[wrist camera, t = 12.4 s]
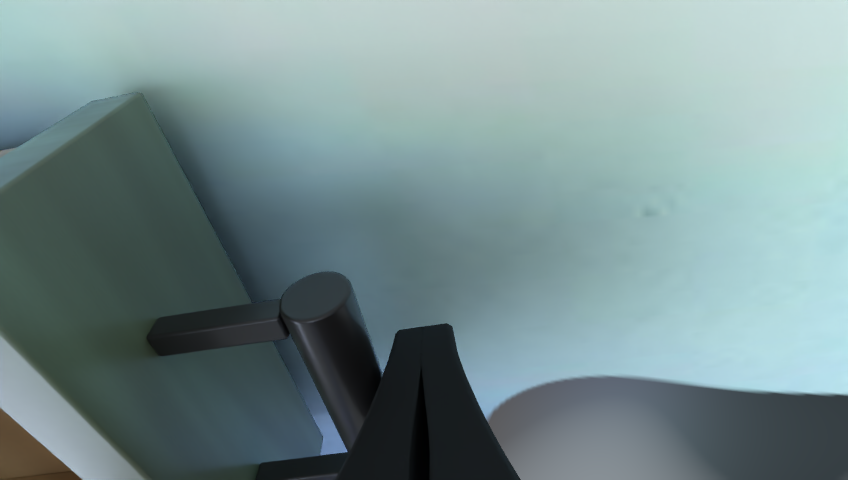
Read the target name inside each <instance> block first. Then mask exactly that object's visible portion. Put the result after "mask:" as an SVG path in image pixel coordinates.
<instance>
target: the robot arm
mask: <svg viewBox="0 0 848 480" xmlns="http://www.w3.org/2000/svg"><path fill="white" fill-rule="evenodd" d="M335 480H520V478H519V476H518V475H517V473H516V471H515V470H514V468H513V467H512V465H511V463H510V462H509V460H508V458H507V457H506V455H505V453H504V451H503V450H502V448H501V446H500V445H499V443H498V441H497V439H496V437H495V436H494V434H493V432H492V430H491V428H490V426H489V424H488V422H487V420H486V418H485V416H484V414H483V412H482V410H481V408H480V406H479V404H478V402H477V400H476V398H475V395H474V393H473V391H472V389H471V387H470V384H469V382H468V380H467V377H466V375H465V372H464V370H463V367H462V364H461V361H460V359H459V356H458V352H457V347H456V342H455V337H454V332H453V327H452V326H451V325H449V324H447V323H446V324H438V325H431V326H424V327H417V328H410V329H403V330H399V331H398V332H397V333H396V334H395V338H394V342H393V346H392V349H391V353H390V356H389V359H388V362H387V365H386V368H385V371H384V373H383V376H382V379H381V382H380V384H379V387H378V389H377V392H376V394H375V397H374V399H373V402H372V404H371V407H370V409H369V412H368V414H367V416H366V418H365V421H364V423H363V425H362V427H361V429H360V431H359V433H358V436H357V438H356V440H355V442H354V444H353V446H352V448H351V450H350V452H349V454H348V456H347V458H346V460H345V462H344V464H343V466H342V468H341V470H340V472H339V473H338V475H337V477H336V479H335Z"/></svg>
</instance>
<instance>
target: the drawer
mask: <svg viewBox="0 0 848 480" xmlns="http://www.w3.org/2000/svg"><path fill="white" fill-rule="evenodd" d="M289 335H291V337H292V339H293V341H294V343H295V345H296V347H297V349H298V351H299V353H300V355H301V357H302V359H303V361H304V363H305V365H306V367H307V369H308V371H309V373H310V375H311V377H312V379H313V382H314V384H315V386H316V388H317V390H318V392H319V394H320V396H321V398H322V400H323V402H324V404H325V406H326V408H327V410H328V412H329V414H330V416H331V418H332V420H333V422H334V424H335V426H336V428H337V431H338V433H339V435H340V437H341V439H342V441H343V443H344V445H345V447H346V449H347V451H348V452H345V453H337V454H329V455H320V452H321V447H322V441H323V436H322V434H321V432H320V430H319V428H318V426H317V424H316V422H315V421H314V419H313V417H312V415H311V413H310V411H309V409H308V407H307V405H306V403H305V402H304V400H303V398H302V396H301V394H300V392H299V390H298V388H297V386H296V384H295V383H294V381H293V379H292V377H291V375H290V373H289V371H288V369H287V367H286V365H285V364H284V362H283V360H282V358H281V356H280V354H279V352H278V350H277V348H276V347H275V345H274V343H273V341H275V340H282V339H287V338H288V337H289ZM382 376H383V373H382V371H381V368H380V365H379V362H378V359H377V356H376V354H375V351H374V348H373V345H372V342H371V339H370V337H369V334H368V331H367V328H366V325H365V322H364V320H363V317H362V314H361V311H360V308H359V305H358V303H357V300H356V297H355V294H354V291H353V288H352V286H351V283H350V281H349V280H348V279H347V278H346V277H345V276H343V275H342V274H339V273H336V272H319V273H314V274H311V275H308V276H306V277H304V278H302V279H300V280H298V281H296V282H295V283H294V284H292V285H291V286H290V287H289V288H288V289H287V290H286V291H285V293H284V294H283V296H282V297H281V299H276V300H270V301H263V302H256V303H252V301H251V299H250V297H249V295H248V293H247V291H246V290H245V288H244V286H243V284H242V282H241V280H240V278H239V276H238V274H237V273H236V271H235V269H234V267H233V265H232V263H231V261H230V259H229V257H228V255H227V254H226V252H225V250H224V248H223V246H222V244H221V242H220V240H219V238H218V236H217V235H216V233H215V231H214V229H213V227H212V225H211V223H210V221H209V219H208V218H207V216H206V214H205V212H204V210H203V208H202V206H201V204H200V202H199V200H198V199H197V197H196V195H195V193H194V191H193V189H192V187H191V185H190V183H189V181H188V180H187V178H186V176H185V174H184V172H183V170H182V168H181V166H180V164H179V162H178V161H177V159H176V157H175V155H174V153H173V151H172V149H171V147H170V145H169V144H168V142H167V140H166V138H165V136H164V134H163V132H162V130H161V128H160V126H159V125H158V123H157V121H156V119H155V117H154V115H153V113H152V111H151V109H150V107H149V106H148V104H147V102H146V100H145V98H144V96H143V94H142V93H140V92H136V93H131V94H126V95H121V96H116V97H110V98H105V99H100V100H95V101H91V102H90V103H88V104H86V105H85V106H83V107H82V108H80V109H78V110H77V111H75V112H74V113H72V114H70V115H69V116H67V117H66V118H64V119H62V120H61V121H59V122H57V123H56V124H54V125H53V126H51V127H49V128H48V129H46V130H45V131H43V132H41V133H40V134H38V135H36V136H35V137H33V138H32V139H30V140H28V141H27V142H25V143H24V144H22V145H20V146H19V147H16V148H11V149H6V150H0V480H335V479H336V477H337V475H338V473H339V472H340V470H341V468H342V466H343V464H344V462H345V460H346V458H347V456H348V454H349V452H350V450H351V448H352V446H353V444H354V442H355V440H356V438H357V436H358V433H359V431H360V429H361V427H362V425H363V423H364V421H365V418H366V416H367V414H368V412H369V409H370V407H371V404H372V402H373V399H374V397H375V394H376V392H377V389H378V387H379V384H380V382H381V379H382Z"/></svg>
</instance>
